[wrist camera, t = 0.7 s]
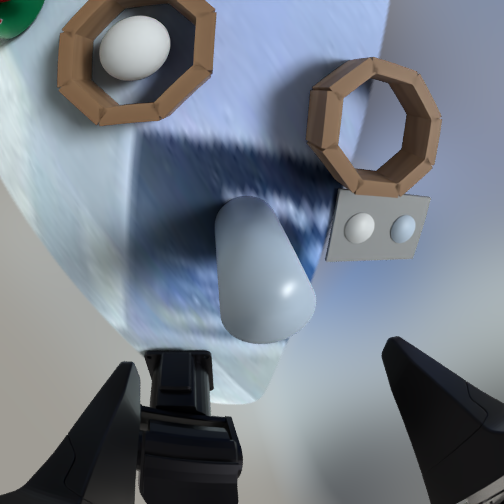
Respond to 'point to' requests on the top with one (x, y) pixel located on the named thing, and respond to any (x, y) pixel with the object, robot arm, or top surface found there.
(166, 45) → the white egg
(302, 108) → the top surface
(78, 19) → the ring
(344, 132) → the top surface
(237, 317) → the grey tube
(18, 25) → the soda can
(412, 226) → the card
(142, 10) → the top surface
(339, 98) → the ring
